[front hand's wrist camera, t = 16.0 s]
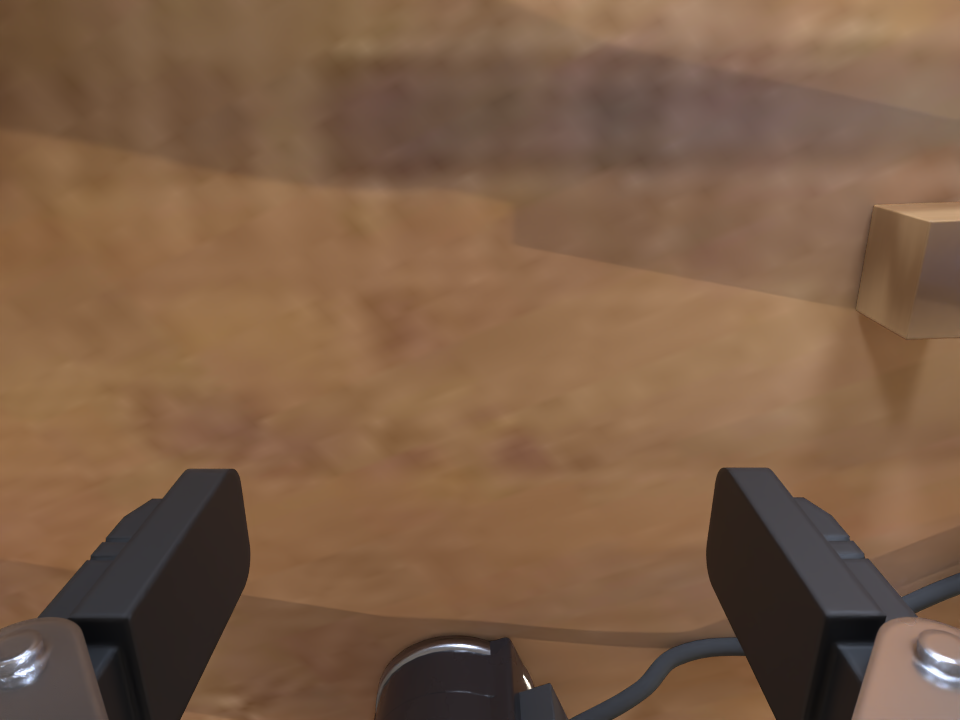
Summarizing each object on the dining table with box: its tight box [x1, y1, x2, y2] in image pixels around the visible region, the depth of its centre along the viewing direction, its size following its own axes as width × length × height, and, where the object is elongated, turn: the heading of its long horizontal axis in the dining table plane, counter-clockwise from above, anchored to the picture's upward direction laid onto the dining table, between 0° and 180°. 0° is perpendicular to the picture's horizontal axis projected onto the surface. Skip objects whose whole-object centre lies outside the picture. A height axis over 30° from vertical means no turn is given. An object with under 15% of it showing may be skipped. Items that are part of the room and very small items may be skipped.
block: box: [856, 202, 960, 340], centre depth 30 cm, size 5×4×4 cm
